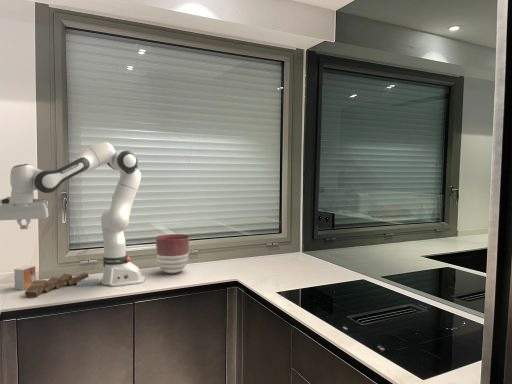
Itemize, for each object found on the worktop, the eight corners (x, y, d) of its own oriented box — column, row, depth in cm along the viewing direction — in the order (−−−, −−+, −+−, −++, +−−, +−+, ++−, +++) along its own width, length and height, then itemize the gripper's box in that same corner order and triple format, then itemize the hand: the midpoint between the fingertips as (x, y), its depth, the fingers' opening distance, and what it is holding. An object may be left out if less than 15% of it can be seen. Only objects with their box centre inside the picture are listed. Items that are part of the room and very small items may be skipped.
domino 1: (35, 291, 176) (46, 280, 185) (24, 291, 176) (36, 280, 185) (36, 297, 177) (47, 285, 186) (26, 297, 177) (37, 285, 186)
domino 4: (69, 281, 194) (87, 273, 201) (65, 280, 197) (84, 272, 204) (70, 285, 194) (88, 276, 201) (66, 284, 197) (85, 275, 204)
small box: (23, 290, 187) (23, 269, 186) (14, 289, 188) (13, 269, 188) (36, 285, 195) (35, 265, 194) (27, 285, 196) (26, 265, 195)
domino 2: (45, 289, 183) (60, 277, 192) (37, 288, 184) (52, 277, 193) (46, 292, 183) (61, 280, 192) (38, 292, 185) (53, 280, 194)
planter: (186, 267, 234) (186, 233, 233) (192, 275, 216) (192, 238, 215) (154, 269, 227) (154, 235, 226) (157, 278, 209) (157, 240, 208)
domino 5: (76, 283, 194) (97, 281, 197) (77, 281, 198) (97, 279, 202) (76, 287, 194) (97, 285, 197) (77, 284, 198) (97, 282, 202)
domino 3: (55, 285, 189) (71, 274, 197) (49, 284, 191) (64, 273, 199) (57, 289, 189) (72, 277, 198) (50, 287, 191) (65, 276, 200)
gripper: (49, 198, 177) (51, 226, 178) (0, 199, 172) (2, 229, 173) (45, 199, 171) (47, 228, 172) (-6, 200, 166) (-4, 231, 166)
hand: (24, 229), depth 172 cm, fingers closed
